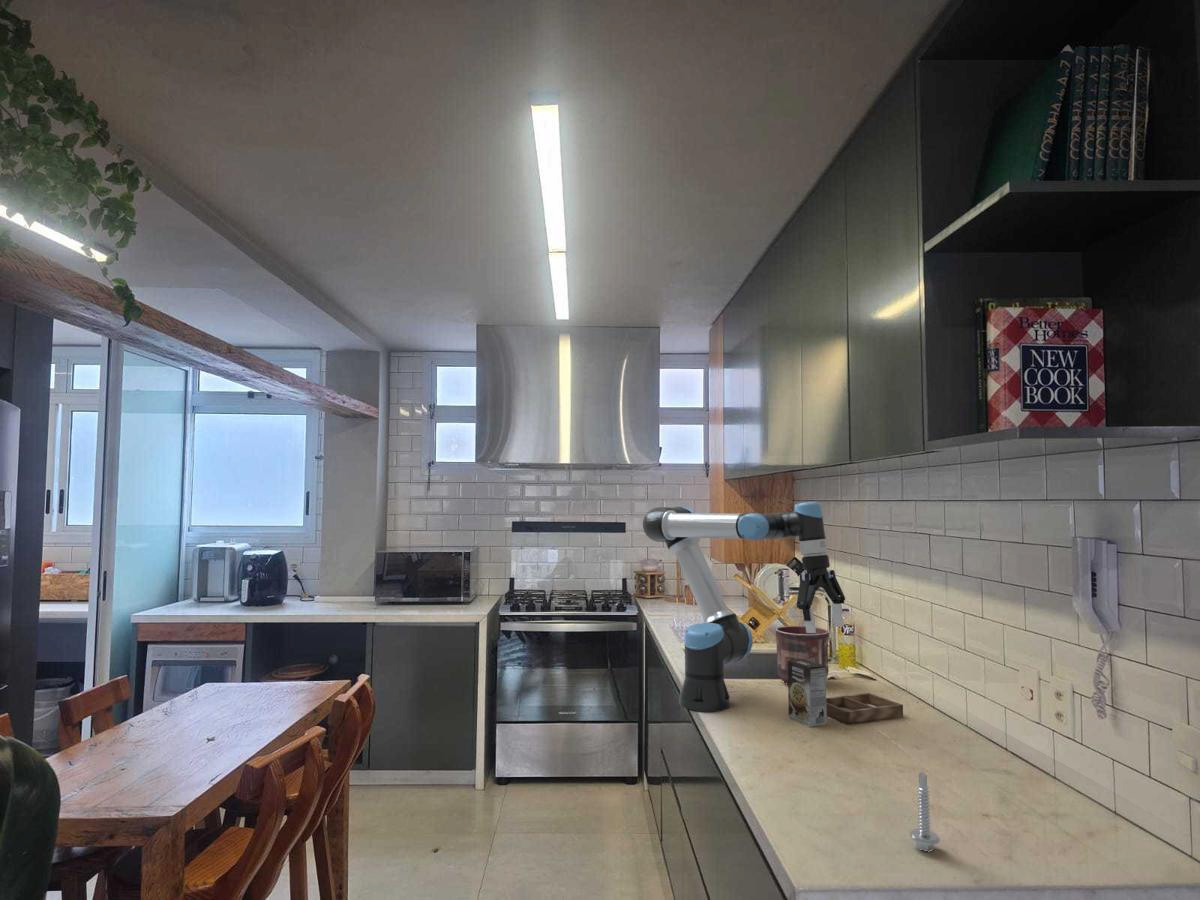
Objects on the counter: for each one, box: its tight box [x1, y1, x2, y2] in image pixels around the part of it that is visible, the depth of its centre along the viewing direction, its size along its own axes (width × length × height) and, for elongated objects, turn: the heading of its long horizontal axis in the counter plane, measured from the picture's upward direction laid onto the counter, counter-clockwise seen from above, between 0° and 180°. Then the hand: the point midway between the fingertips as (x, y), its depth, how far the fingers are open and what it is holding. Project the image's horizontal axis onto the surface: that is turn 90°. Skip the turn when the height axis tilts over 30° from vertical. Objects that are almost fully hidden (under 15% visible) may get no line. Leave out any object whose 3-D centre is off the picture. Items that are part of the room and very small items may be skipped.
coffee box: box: [787, 659, 828, 728], centre depth 192 cm, size 9×6×16 cm
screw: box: [909, 771, 941, 851], centre depth 120 cm, size 13×5×5 cm
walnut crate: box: [826, 692, 904, 726], centre depth 198 cm, size 20×14×4 cm
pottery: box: [775, 625, 830, 684], centre depth 232 cm, size 18×18×18 cm
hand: (825, 629), depth 196 cm, fingers open, 13 cm apart
